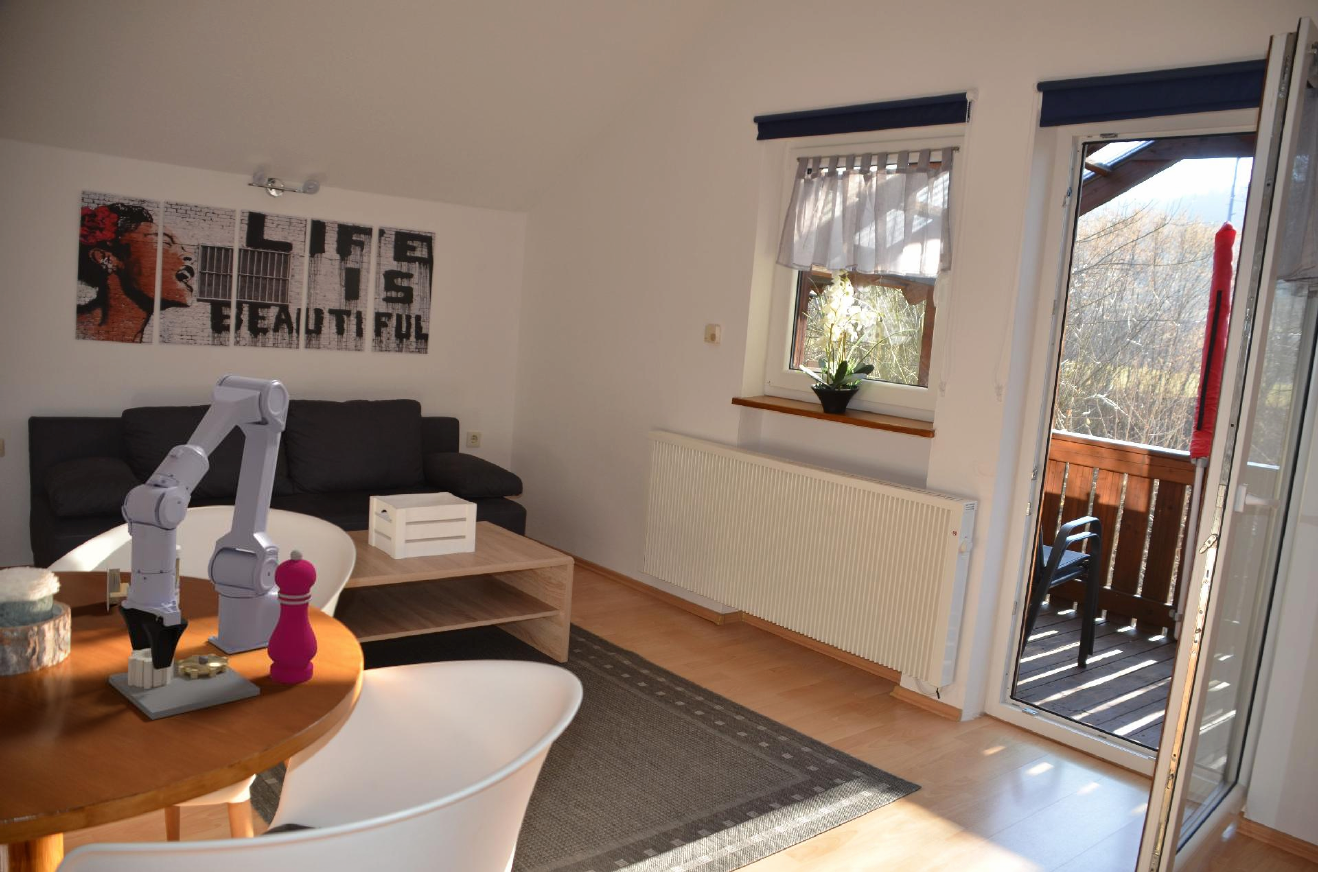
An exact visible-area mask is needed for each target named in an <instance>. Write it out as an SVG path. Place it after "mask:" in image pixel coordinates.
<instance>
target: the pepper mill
mask: <svg viewBox="0 0 1318 872" xmlns="http://www.w3.org/2000/svg"><path fill="white" fill-rule="evenodd" d="M289 556H290V557H289V558H290V559H287V560H284V561H282V562H281V563H280V564H279V566H278V567H277V569H276V571H275V583H276V584H275V585H276V586H277V587H278V588H279V589H278V592H277V594H278V597H277V600H278V601H279V602H280V608H281V609H280V617H279V621H278V623H277V625H276V627H275V629H274V631H273V633H272V635H271V637H270V640H269V643H268V646H267V650H266V651H267V656H268V657H269V659H270V660H271V661H272V663H271V664H270V666H269V678H270V679H271V680H273V681H274V682H276V683H281V684H298V683H303V682H306V681H308V680H310V679H311V678H312V677H313V675H314V663H313V662H312V660H313V659H314V657H315V656H316V655H317V653H318V641H317V637H316V634H315V632H314V630H313V628H312V625H311V623H310V620H309V619H310V618H309V603H310V602H311V601H312V600H313V596H312V595H313V590H312V589H311V588H312V587H313V586H314V585H315V583H316V580H317V571H316V568H315V566H314V565H313V564H312V563H311V562H310V561H308V560H306V559H304V558H303V551H301V550H300V549H293V550H292V551H291V552H290V555H289Z"/></svg>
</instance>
